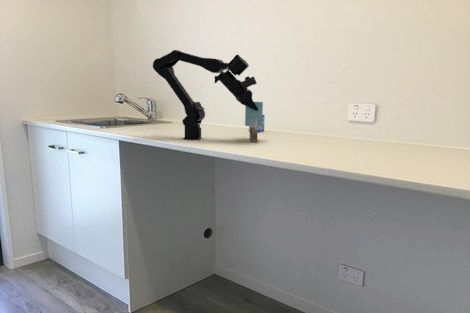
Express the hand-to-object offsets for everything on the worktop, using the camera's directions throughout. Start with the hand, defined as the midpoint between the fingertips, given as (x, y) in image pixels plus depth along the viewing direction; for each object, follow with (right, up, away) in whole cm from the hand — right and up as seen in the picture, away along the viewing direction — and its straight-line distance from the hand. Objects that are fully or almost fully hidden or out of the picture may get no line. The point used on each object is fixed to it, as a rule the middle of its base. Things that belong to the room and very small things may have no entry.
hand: (257, 110), depth 159 cm
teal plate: (-1, -7, +1) cm, 7 cm away
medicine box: (+2, -7, +32) cm, 33 cm away
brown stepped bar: (-1, -13, +2) cm, 13 cm away
